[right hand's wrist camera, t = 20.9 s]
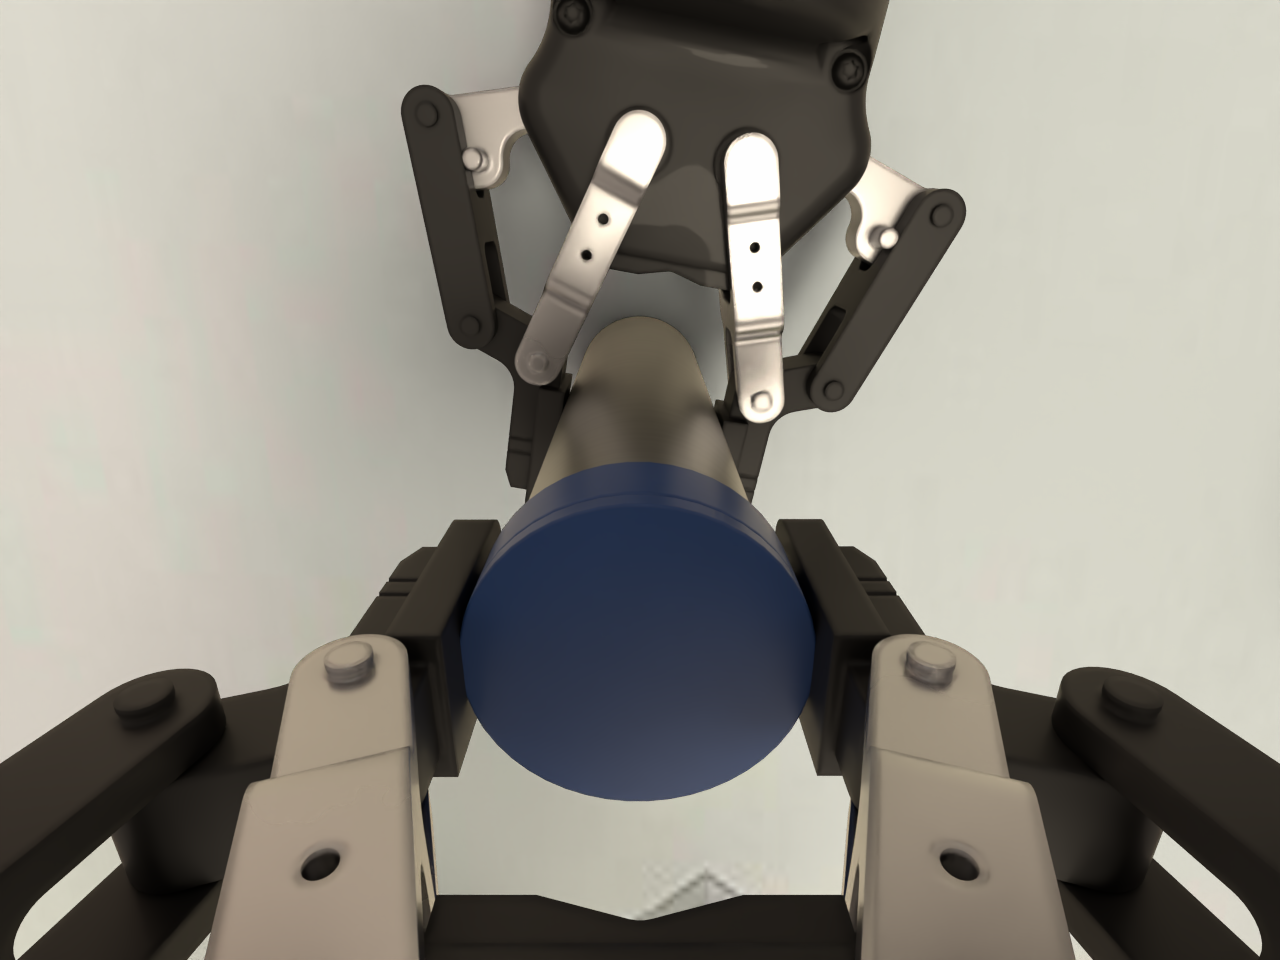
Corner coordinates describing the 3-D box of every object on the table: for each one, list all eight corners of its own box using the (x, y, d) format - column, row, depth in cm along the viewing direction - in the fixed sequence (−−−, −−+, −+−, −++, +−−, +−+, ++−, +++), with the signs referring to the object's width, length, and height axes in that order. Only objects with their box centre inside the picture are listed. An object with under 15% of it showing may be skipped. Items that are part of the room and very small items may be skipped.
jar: (715, 340, 25) (841, 563, 9) (671, 445, 27) (716, 789, 11) (604, 298, 24) (539, 457, 9) (566, 407, 26) (452, 710, 10)
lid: (421, 616, 11) (386, 681, 9) (621, 391, 9) (617, 425, 8) (650, 772, 12) (652, 851, 10) (857, 592, 11) (892, 654, 9)
